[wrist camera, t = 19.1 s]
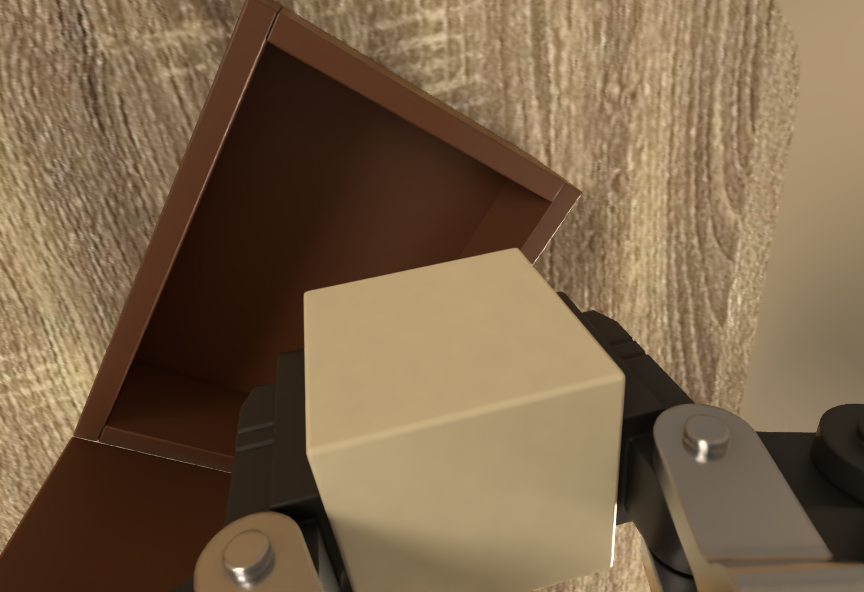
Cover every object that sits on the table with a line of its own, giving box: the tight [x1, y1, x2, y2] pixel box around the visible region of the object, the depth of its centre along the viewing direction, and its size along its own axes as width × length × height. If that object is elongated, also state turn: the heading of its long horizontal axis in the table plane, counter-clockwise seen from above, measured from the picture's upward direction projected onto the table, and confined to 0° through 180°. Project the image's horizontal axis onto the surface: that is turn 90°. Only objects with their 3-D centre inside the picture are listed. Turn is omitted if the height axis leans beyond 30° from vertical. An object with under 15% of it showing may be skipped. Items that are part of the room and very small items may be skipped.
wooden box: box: [74, 0, 582, 473], centre depth 21 cm, size 16×12×5 cm
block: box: [304, 248, 626, 592], centre depth 9 cm, size 4×4×4 cm
